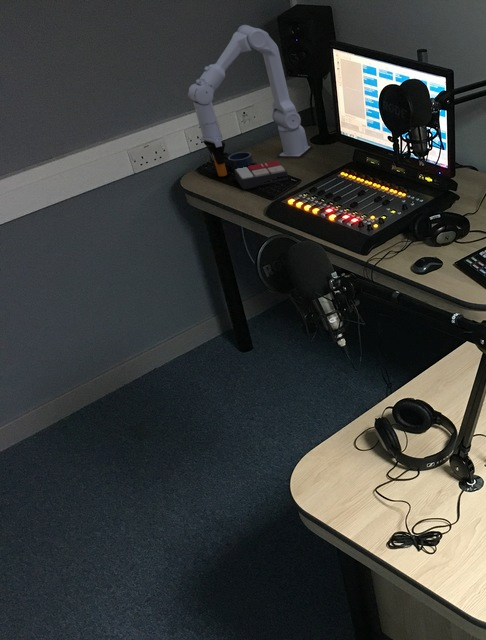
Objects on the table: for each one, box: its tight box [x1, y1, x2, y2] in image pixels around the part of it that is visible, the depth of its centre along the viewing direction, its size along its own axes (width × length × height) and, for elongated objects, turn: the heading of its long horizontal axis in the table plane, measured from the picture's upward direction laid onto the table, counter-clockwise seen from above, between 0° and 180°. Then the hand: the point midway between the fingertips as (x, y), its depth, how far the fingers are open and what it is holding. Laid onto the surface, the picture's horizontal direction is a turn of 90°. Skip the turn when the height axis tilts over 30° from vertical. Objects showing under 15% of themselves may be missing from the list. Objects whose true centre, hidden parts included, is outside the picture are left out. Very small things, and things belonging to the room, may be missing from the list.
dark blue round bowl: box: [227, 151, 255, 171], centre depth 289 cm, size 8×8×4 cm
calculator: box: [233, 160, 289, 190], centre depth 278 cm, size 11×4×15 cm
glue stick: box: [211, 154, 228, 177], centre depth 282 cm, size 3×3×8 cm
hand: (219, 162), depth 282 cm, fingers closed on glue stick, 3 cm apart
